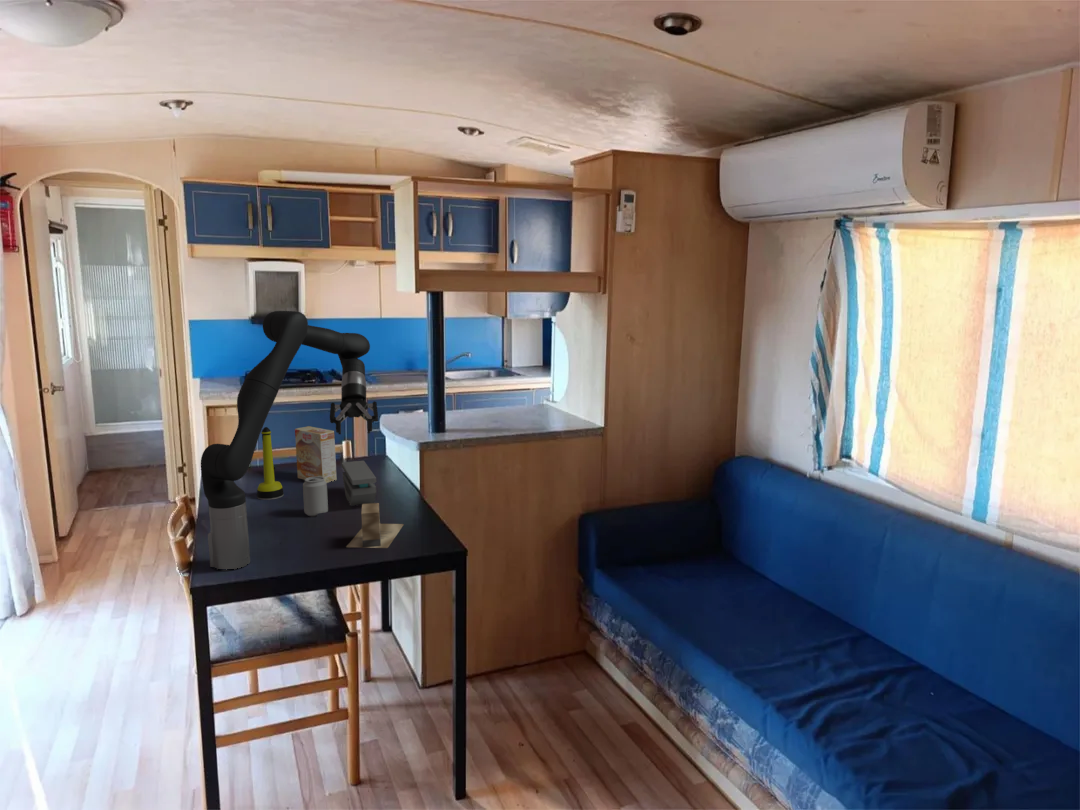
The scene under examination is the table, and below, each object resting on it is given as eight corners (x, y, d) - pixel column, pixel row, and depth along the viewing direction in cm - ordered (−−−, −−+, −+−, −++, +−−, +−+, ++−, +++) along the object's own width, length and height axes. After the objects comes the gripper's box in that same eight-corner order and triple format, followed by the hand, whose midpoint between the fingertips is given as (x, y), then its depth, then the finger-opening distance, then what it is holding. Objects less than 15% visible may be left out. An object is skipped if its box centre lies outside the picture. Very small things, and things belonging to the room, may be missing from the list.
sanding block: (362, 547, 208) (361, 513, 206) (363, 536, 217) (361, 503, 215) (380, 545, 209) (379, 512, 207) (380, 535, 218) (379, 502, 216)
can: (318, 508, 246) (316, 474, 244) (333, 512, 242) (331, 477, 240) (299, 514, 240) (297, 479, 238) (314, 518, 236) (312, 482, 234)
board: (346, 551, 209) (345, 547, 208) (366, 527, 228) (365, 523, 228) (387, 551, 208) (387, 547, 208) (404, 527, 228) (404, 524, 227)
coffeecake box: (296, 478, 282) (293, 428, 279) (312, 474, 288) (309, 425, 285) (322, 484, 274) (319, 433, 270) (337, 480, 280) (334, 430, 276)
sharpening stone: (343, 491, 265) (341, 462, 263) (365, 489, 268) (363, 460, 266) (353, 512, 242) (352, 480, 241) (377, 509, 245) (376, 478, 244)
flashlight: (262, 430, 249) (284, 426, 257) (246, 427, 254) (268, 423, 262) (267, 501, 254) (289, 495, 261) (251, 497, 259) (273, 490, 266)
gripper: (329, 382, 225) (328, 426, 216) (376, 381, 228) (378, 424, 219) (331, 396, 231) (330, 440, 222) (377, 395, 234) (378, 438, 225)
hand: (354, 432), depth 221 cm, fingers open, 8 cm apart
